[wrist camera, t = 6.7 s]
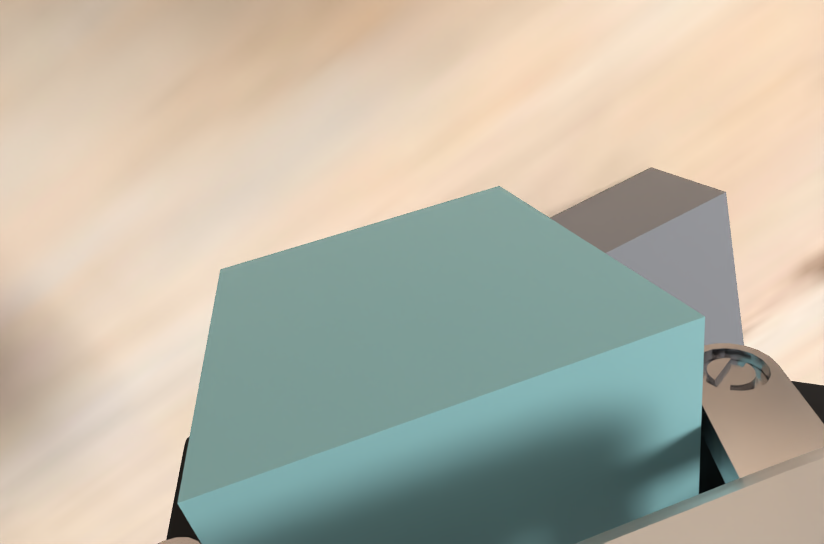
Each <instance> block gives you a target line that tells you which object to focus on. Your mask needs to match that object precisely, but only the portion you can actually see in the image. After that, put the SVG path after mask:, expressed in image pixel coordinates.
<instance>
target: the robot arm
mask: <svg viewBox="0 0 824 544" xmlns="http://www.w3.org/2000/svg"><path fill="white" fill-rule="evenodd" d="M188 443H189V437H188V438H187V440H186V442H185V446H184V451H183V456H182V461H181V467H180V472H179V477H178V482H177V487H176V492H175V498H174V503H173V508H172V513H171V518H170V524H169V529H168V534H167V539H166V540H165V541H162V542H160V543H158V544H201V542H200V540H199V539H198V537H197V535H196V534H195V532H194V530H193V529H192V527H191V525H190V524H189V522H188V520H187V519H186V517H185V515H184V514H183V512H182V510H181V509H180V507H179V505H178V504H177V503H178V497H179V492H180V486H181V481H182V475H183V470H184V465H185V459H186V454H187V448H188ZM576 544H824V386H823V385H816V384H809V383H802V382H795V381H790V379H789V378H788V377H787V375H786V374H785V373H784V371H783V370H782V369H781V367H780V366H779V365H778V364H777V363H776V362H775V361H774V360H773V359H772V358H771V357H770V356H768V355H766V354H764V353H762V352H761V351H759V350H756V349H753V348H750V347H747V346H744V345H738V344H731V343H715V344H709V345H704V361H703V389H702V417H701V445H700V473H699V495H696V496H694V497H691V498H689V499H686V500H683V501H681V502H678V503H676V504H673V505H671V506H668V507H666V508H663V509H661V510H658V511H656V512H653V513H651V514H648V515H646V516H643V517H641V518H638V519H636V520H633V521H630V522H628V523H625V524H623V525H620V526H618V527H615V528H613V529H610V530H608V531H605V532H603V533H600V534H598V535H595V536H593V537H590V538H588V539H585V540H583V541H580V542H578V543H576Z"/></svg>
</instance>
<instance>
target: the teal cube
mask: <svg viewBox="0 0 824 544" xmlns="http://www.w3.org/2000/svg"><path fill="white" fill-rule="evenodd" d="M704 333H705V316H703V315H702V314H700V313H699V312H697V311H696V310H694V309H692V308H691V307H689V306H688V305H686V304H685V303H683V302H681V301H680V300H678V299H677V298H675V297H674V296H672V295H670V294H669V293H667V292H666V291H664V290H662V289H661V288H659V287H658V286H656V285H655V284H653V283H651V282H650V281H648V280H647V279H645V278H644V277H642V276H640V275H639V274H637V273H636V272H634V271H633V270H631V269H629V268H628V267H626V266H625V265H623V264H621V263H620V262H618V261H617V260H615V259H614V258H612V257H610V256H609V255H607V254H606V253H604V252H603V251H601V250H599V249H598V248H596V247H595V246H593V245H592V244H590V243H588V242H587V241H585V240H584V239H582V238H580V237H579V236H577V235H576V234H574V233H573V232H571V231H569V230H568V229H566V228H565V227H563V226H562V225H560V224H558V223H557V222H555V221H554V220H552V219H551V218H549V217H547V216H546V215H544V214H543V213H541V212H539V211H538V210H536V209H535V208H533V207H532V206H530V205H528V204H527V203H525V202H524V201H522V200H521V199H519V198H517V197H516V196H514V195H513V194H511V193H510V192H508V191H506V190H505V189H503V188H502V187H500V186H498V187H494V188H491V189H488V190H484V191H481V192H478V193H474V194H471V195H468V196H464V197H461V198H458V199H454V200H451V201H447V202H444V203H441V204H437V205H434V206H431V207H427V208H424V209H421V210H417V211H414V212H411V213H407V214H404V215H401V216H397V217H394V218H391V219H387V220H384V221H381V222H377V223H374V224H371V225H367V226H364V227H361V228H357V229H354V230H351V231H347V232H344V233H341V234H337V235H334V236H331V237H327V238H324V239H321V240H317V241H314V242H311V243H307V244H304V245H301V246H297V247H294V248H291V249H287V250H284V251H281V252H277V253H274V254H271V255H267V256H264V257H261V258H257V259H254V260H251V261H247V262H244V263H241V264H237V265H234V266H231V267H227V268H224V269H221V270H220V275H219V280H218V285H217V291H216V296H215V302H214V307H213V313H212V318H211V323H210V329H209V334H208V340H207V345H206V351H205V356H204V361H203V367H202V372H201V378H200V383H199V389H198V394H197V399H196V405H195V410H194V416H193V421H192V427H191V432H190V437H189V443H188V448H187V454H186V459H185V465H184V470H183V475H182V481H181V486H180V492H179V497H178V503H177V504H178V505H179V507H180V509H181V510H182V512H183V514H184V515H185V517H186V519H187V520H188V522H189V524H190V525H191V527H192V529H193V530H194V532H195V534H196V535H197V537H198V539H199V540H200V542H201V544H576V543H578V542H580V541H583V540H585V539H588V538H590V537H593V536H595V535H598V534H600V533H603V532H605V531H608V530H610V529H613V528H615V527H618V526H620V525H623V524H625V523H628V522H630V521H633V520H636V519H638V518H641V517H643V516H646V515H648V514H651V513H653V512H656V511H658V510H661V509H663V508H666V507H668V506H671V505H673V504H676V503H678V502H681V501H683V500H686V499H689V498H691V497H694V496H696V495H699V473H700V445H701V417H702V389H703V361H704Z"/></svg>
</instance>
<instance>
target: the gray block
mask: <svg viewBox="0 0 824 544" xmlns="http://www.w3.org/2000/svg"><path fill="white" fill-rule="evenodd" d="M551 219H552V220H554V221H555V222H557V223H558V224H560V225H562V226H563V227H565V228H566V229H568V230H569V231H571V232H573V233H574V234H576V235H577V236H579V237H580V238H582V239H584V240H585V241H587V242H588V243H590V244H592V245H593V246H595V247H596V248H598V249H599V250H601V251H603V252H604V253H606V254H607V255H609V256H610V257H612V258H614V259H615V260H617V261H618V262H620V263H621V264H623V265H625V266H626V267H628V268H629V269H631V270H633V271H634V272H636V273H637V274H639V275H640V276H642V277H644V278H645V279H647V280H648V281H650V282H651V283H653V284H655V285H656V286H658V287H659V288H661V289H662V290H664V291H666V292H667V293H669V294H670V295H672V296H674V297H675V298H677V299H678V300H680V301H681V302H683V303H685V304H686V305H688V306H689V307H691V308H692V309H694V310H696V311H697V312H699V313H700V314H702V315H703V316H705V333H704V345H709V344H715V343H731V344H738V345H744V342H743V333H742V325H741V316H740V308H739V299H738V291H737V282H736V274H735V265H734V257H733V248H732V240H731V231H730V223H729V214H728V206H727V197H726V192H724V191H721V190H718V189H715V188H712V187H709V186H706V185H703V184H700V183H697V182H694V181H691V180H688V179H685V178H682V177H679V176H676V175H672V174H669V173H666V172H663V171H660V170H657V169H654V168H649V169H647V170H645V171H643V172H641V173H639V174H637V175H635V176H633V177H631V178H629V179H627V180H625V181H623V182H621V183H619V184H617V185H615V186H613V187H611V188H609V189H607V190H605V191H603V192H601V193H599V194H597V195H595V196H593V197H591V198H589V199H587V200H585V201H583V202H581V203H579V204H577V205H575V206H573V207H571V208H569V209H567V210H565V211H563V212H561V213H559V214H557V215H555V216H553V217H551Z"/></svg>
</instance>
